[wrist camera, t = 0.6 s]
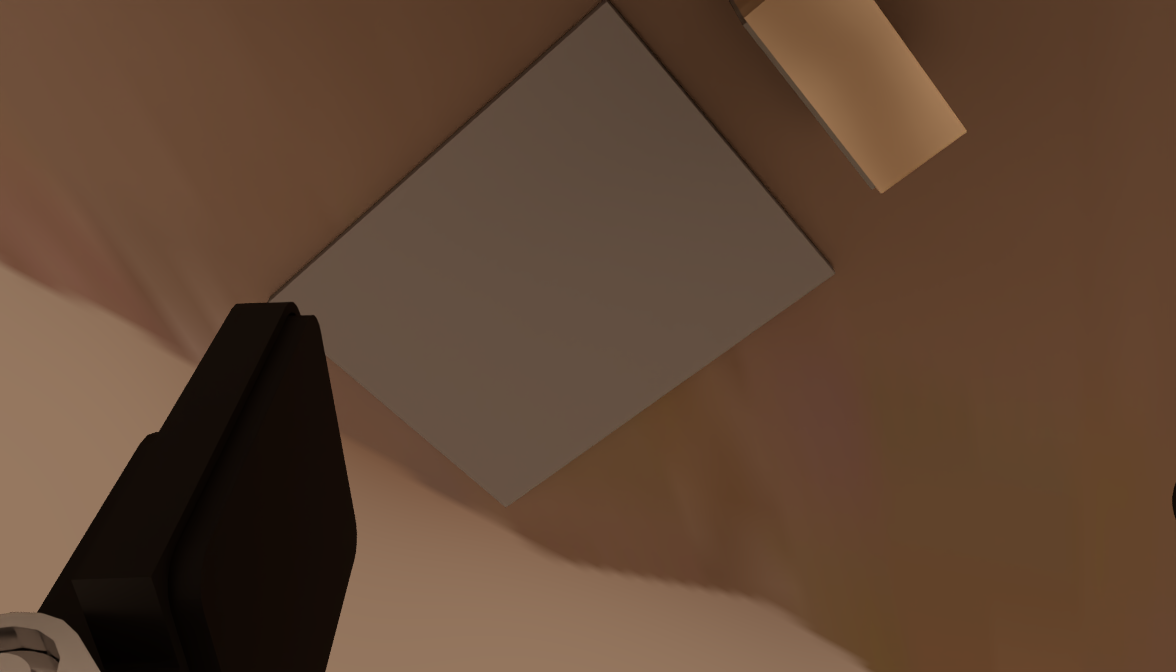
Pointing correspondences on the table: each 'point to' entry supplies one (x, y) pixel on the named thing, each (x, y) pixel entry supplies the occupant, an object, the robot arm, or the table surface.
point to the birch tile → (855, 82)
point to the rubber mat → (556, 263)
